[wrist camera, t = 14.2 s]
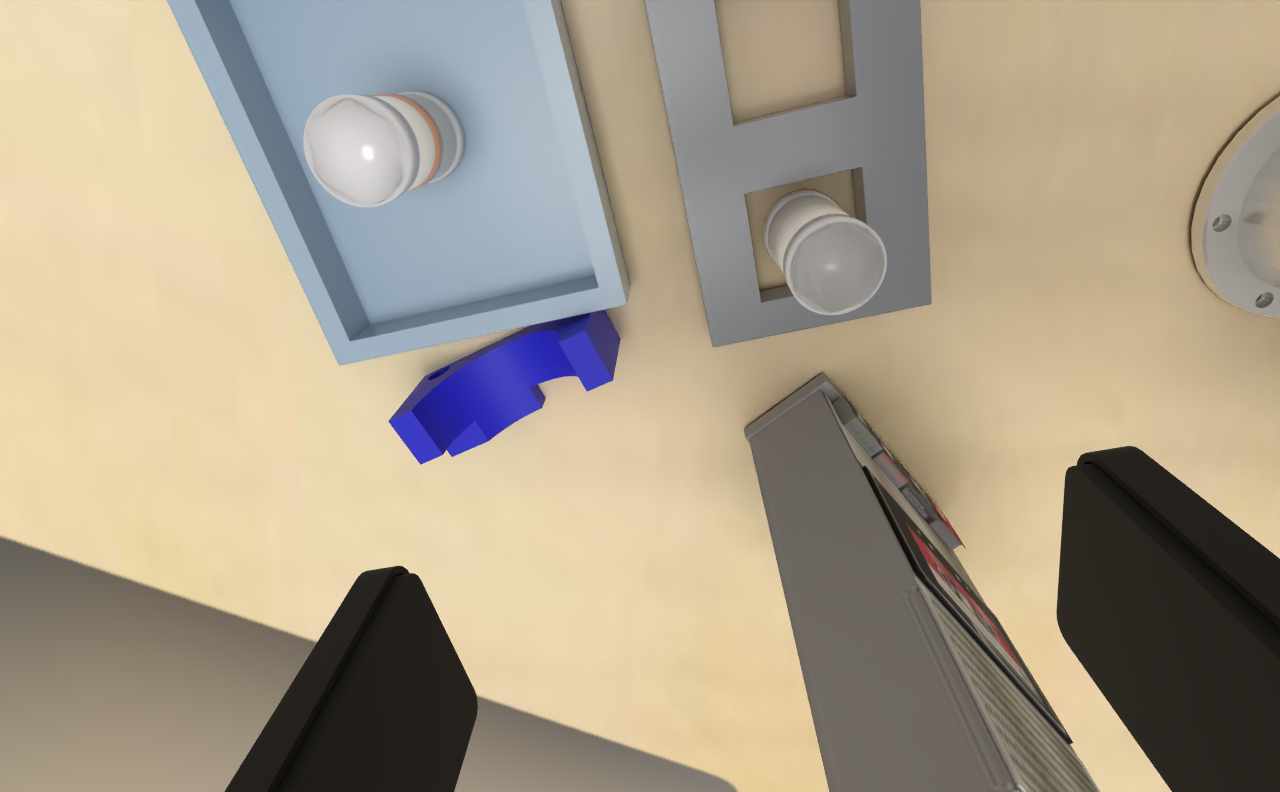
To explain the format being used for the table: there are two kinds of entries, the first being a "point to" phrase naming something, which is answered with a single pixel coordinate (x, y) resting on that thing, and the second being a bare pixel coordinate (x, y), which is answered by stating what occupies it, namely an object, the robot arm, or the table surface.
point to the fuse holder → (798, 159)
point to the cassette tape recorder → (894, 620)
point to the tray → (438, 211)
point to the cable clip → (503, 383)
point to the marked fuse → (382, 145)
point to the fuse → (824, 252)
